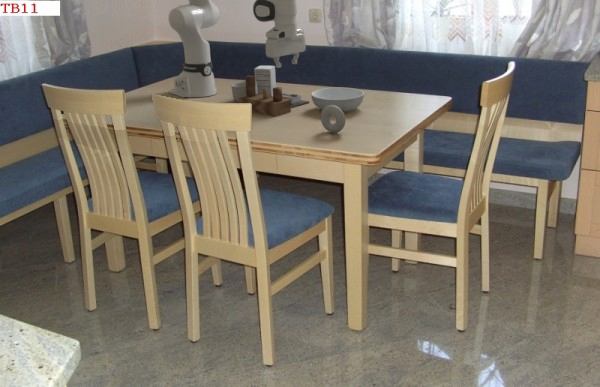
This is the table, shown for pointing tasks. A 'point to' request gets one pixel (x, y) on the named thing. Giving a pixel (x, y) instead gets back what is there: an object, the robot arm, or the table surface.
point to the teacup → (240, 90)
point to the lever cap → (292, 98)
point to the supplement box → (265, 79)
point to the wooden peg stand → (265, 99)
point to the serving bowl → (338, 98)
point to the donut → (338, 115)
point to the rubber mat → (299, 104)
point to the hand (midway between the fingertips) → (286, 65)
